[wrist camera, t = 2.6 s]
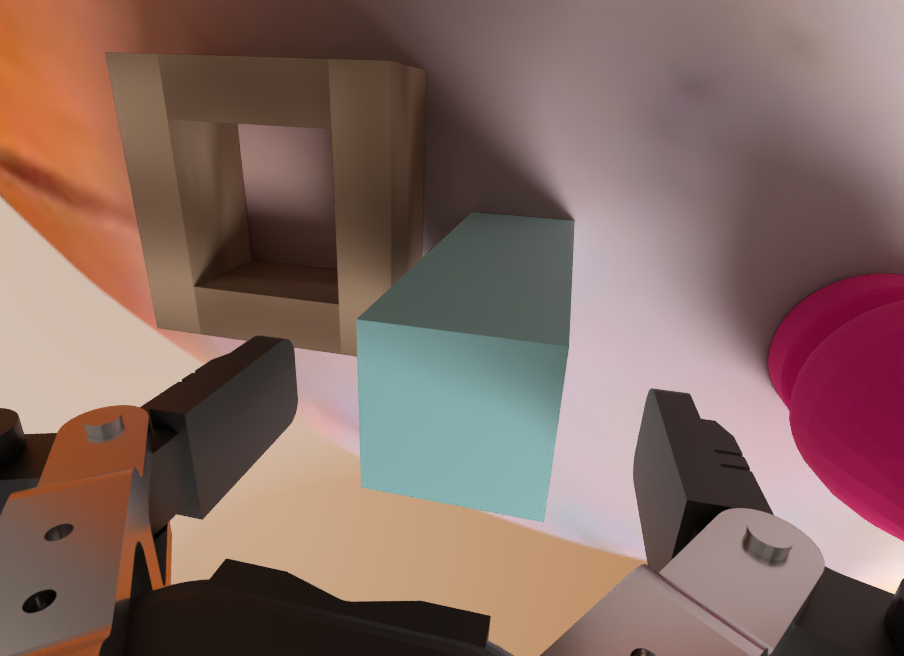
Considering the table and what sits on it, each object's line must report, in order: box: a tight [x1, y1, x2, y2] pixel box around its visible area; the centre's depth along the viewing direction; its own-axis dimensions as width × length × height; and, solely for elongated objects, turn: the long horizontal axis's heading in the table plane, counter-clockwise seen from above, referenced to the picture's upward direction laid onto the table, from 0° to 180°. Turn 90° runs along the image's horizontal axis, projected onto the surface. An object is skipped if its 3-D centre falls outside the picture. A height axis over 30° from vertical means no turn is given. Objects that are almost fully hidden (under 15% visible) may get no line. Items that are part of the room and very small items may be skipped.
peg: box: [356, 212, 574, 522], centre depth 16 cm, size 4×4×12 cm
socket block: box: [105, 52, 426, 356], centre depth 20 cm, size 10×10×4 cm
